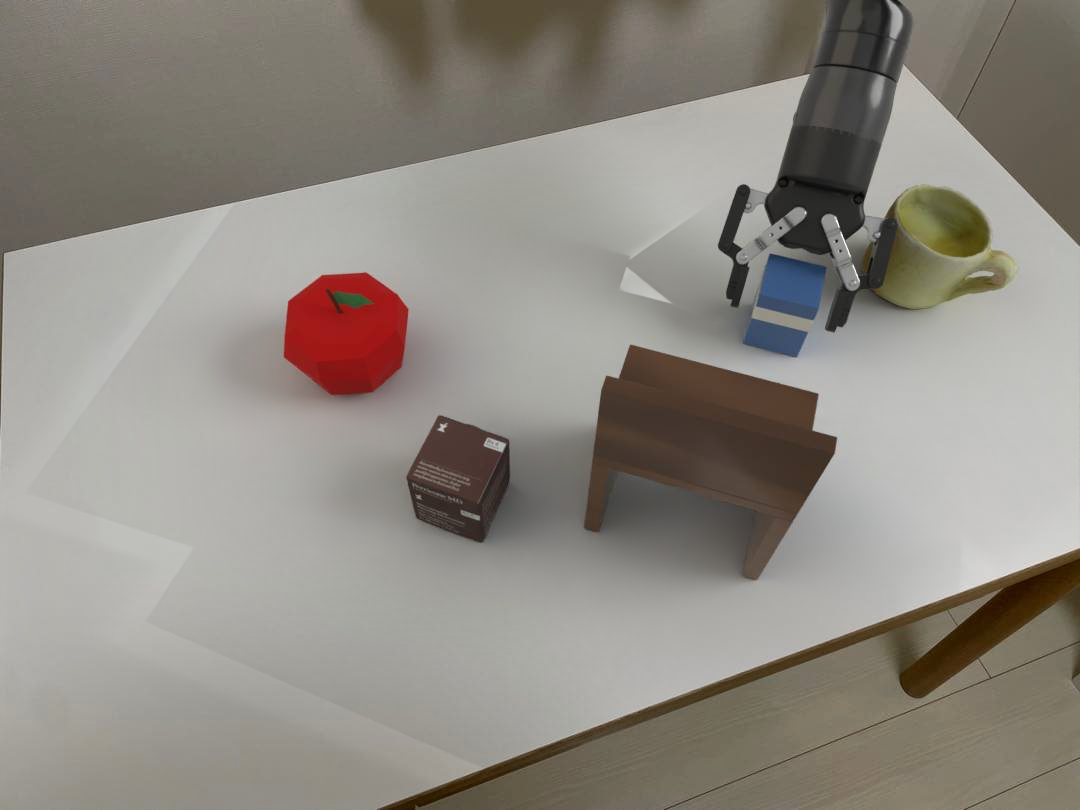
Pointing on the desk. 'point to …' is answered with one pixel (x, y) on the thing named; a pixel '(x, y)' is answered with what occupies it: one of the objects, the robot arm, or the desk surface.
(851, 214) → the robot arm
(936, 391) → the desk surface
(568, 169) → the desk surface
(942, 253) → the mug
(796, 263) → the carton
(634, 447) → the chair
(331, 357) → the apple
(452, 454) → the box
